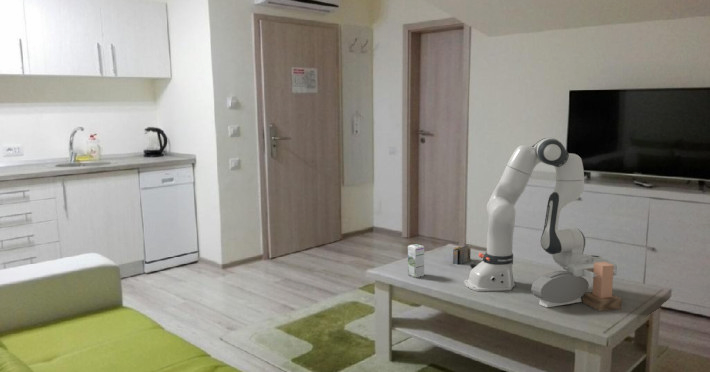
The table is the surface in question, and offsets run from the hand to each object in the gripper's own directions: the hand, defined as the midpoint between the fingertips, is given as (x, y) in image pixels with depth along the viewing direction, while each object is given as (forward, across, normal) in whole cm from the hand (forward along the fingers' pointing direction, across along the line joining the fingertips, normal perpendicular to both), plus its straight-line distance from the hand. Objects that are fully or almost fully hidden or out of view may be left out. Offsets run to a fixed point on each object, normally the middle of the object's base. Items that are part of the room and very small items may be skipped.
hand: (605, 274), depth 213 cm
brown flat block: (-73, -26, +14) cm, 78 cm away
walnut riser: (-1, 0, +13) cm, 13 cm away
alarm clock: (-7, -15, +13) cm, 21 cm away
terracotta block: (-1, 0, +9) cm, 9 cm away
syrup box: (-58, -57, +13) cm, 82 cm away
